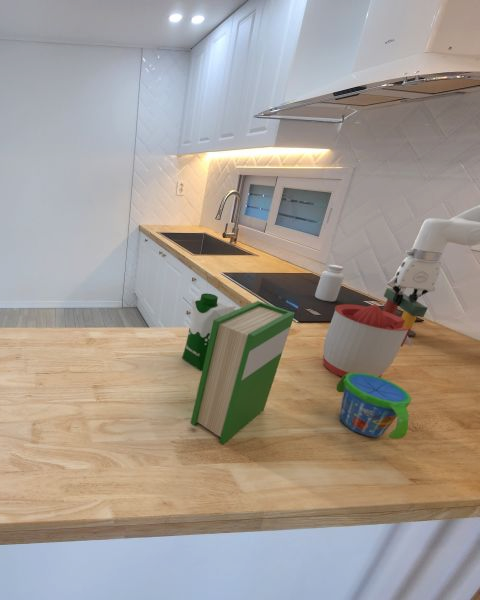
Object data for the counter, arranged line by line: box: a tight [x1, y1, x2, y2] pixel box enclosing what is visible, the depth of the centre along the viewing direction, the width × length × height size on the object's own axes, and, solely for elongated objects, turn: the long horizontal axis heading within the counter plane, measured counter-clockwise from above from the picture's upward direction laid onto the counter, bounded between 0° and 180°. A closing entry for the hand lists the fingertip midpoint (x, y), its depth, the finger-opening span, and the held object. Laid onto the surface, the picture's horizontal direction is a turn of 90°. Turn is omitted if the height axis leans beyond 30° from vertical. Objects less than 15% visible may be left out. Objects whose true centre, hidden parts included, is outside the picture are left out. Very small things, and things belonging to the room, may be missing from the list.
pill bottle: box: [314, 264, 345, 302], centre depth 146 cm, size 8×8×15 cm
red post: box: [382, 298, 399, 315], centre depth 128 cm, size 7×7×8 cm
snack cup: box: [335, 373, 412, 440], centre depth 71 cm, size 16×10×10 cm
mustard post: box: [400, 310, 418, 338], centre depth 118 cm, size 7×7×8 cm
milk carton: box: [182, 292, 236, 372], centre depth 90 cm, size 9×9×20 cm
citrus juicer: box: [322, 303, 413, 378], centre depth 89 cm, size 16×17×20 cm
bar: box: [383, 287, 429, 318], centre depth 121 cm, size 3×20×3 cm, turn 161°
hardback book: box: [190, 300, 296, 446], centre depth 69 cm, size 18×7×24 cm, turn 129°
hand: (402, 304), depth 121 cm, fingers closed on bar, 3 cm apart
